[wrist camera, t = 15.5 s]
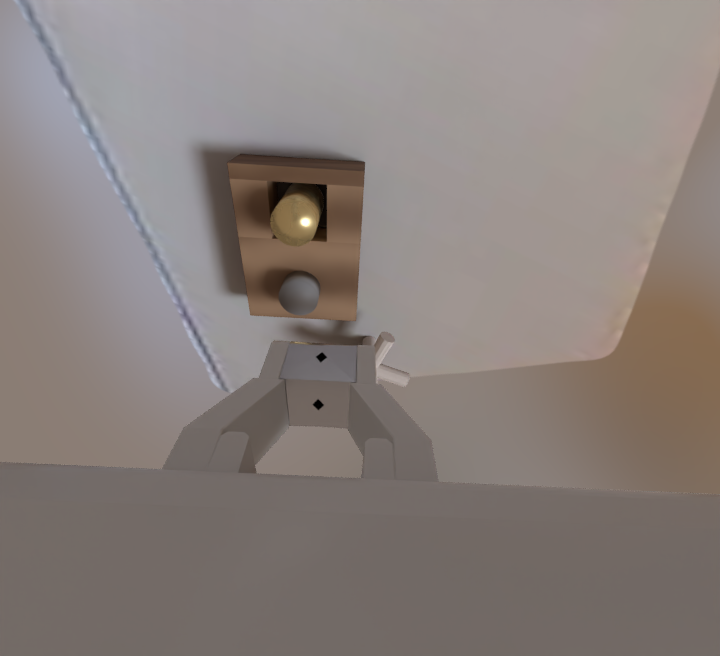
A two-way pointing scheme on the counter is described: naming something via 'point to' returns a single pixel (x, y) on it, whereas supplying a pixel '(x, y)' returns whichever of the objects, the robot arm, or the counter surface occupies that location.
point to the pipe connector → (381, 350)
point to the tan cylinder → (297, 214)
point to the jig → (301, 263)
